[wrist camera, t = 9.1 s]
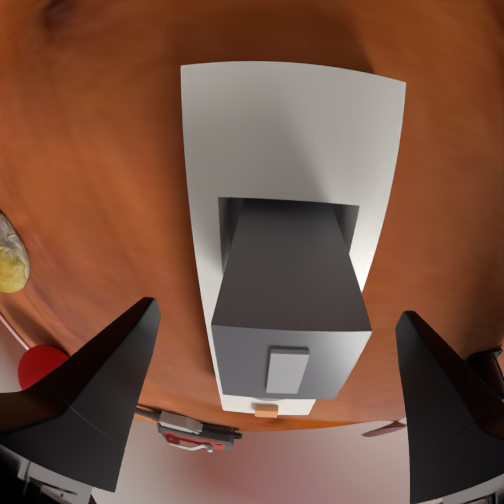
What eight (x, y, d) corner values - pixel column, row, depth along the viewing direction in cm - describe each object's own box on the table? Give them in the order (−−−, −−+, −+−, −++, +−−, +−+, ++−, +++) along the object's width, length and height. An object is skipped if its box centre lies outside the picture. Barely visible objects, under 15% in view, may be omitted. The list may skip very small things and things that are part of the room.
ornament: (58, 364, 31) (34, 416, 22) (26, 325, 25) (-7, 381, 17) (100, 378, 30) (76, 438, 21) (66, 337, 24) (31, 406, 16)
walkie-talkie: (245, 423, 33) (114, 392, 33) (241, 451, 29) (105, 416, 29) (239, 437, 38) (128, 412, 38) (236, 460, 34) (121, 432, 34)
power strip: (378, 81, 9) (413, 83, 7) (307, 388, 24) (308, 420, 21) (202, 69, 10) (174, 64, 7) (227, 384, 25) (222, 415, 22)
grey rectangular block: (328, 198, 13) (373, 336, 6) (317, 264, 15) (335, 402, 8) (245, 193, 13) (209, 329, 6) (245, 261, 15) (222, 397, 9)
